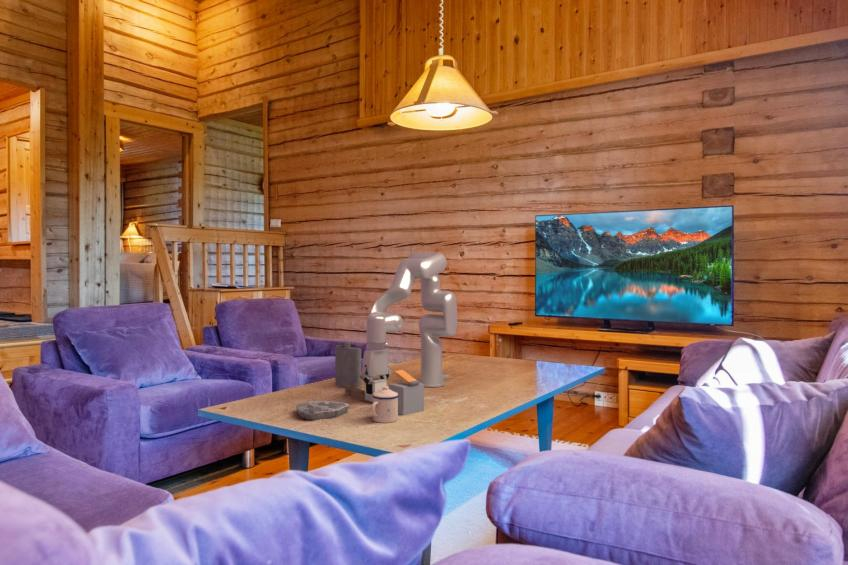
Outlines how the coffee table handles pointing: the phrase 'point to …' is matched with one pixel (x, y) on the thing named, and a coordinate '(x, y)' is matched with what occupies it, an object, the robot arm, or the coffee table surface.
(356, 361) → the hip flask
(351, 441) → the coffee table surface
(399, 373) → the lever
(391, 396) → the teacup with lid
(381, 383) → the block
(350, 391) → the rail
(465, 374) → the coffee table surface
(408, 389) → the cabinet
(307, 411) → the brain slice
